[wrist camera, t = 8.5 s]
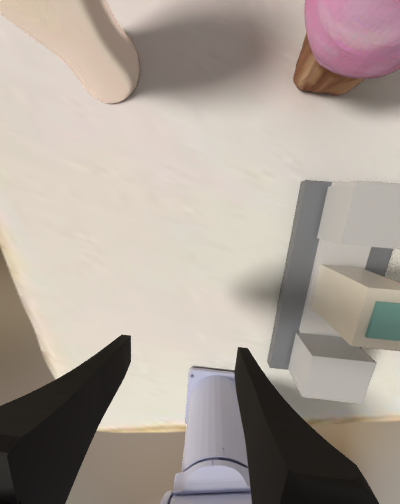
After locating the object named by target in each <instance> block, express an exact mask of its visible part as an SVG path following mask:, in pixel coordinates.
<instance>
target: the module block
mask: <svg viewBox="0 0 400 504" xmlns="http://www.w3.org/2000/svg"><path fill="white" fill-rule="evenodd" d="M311 308H312V309H313V310H314V311H315V312H316V313H317V314H318V315H319V316H320V317H321V318H322V319H323V320H325V321H326V322H327V323H328V324H329V325H330V326H331V327H332V328H333V329H334V330H335V331H336V332H337V333H338V334H339V335H340V336H341V337H342V338H343V339H344V340H345V341H346V342H347V343H348V344H349V345H350V346H354V347H364V348H374V349H384V350H394V351H400V283H399V282H396V281H394V280H391V279H388V278H386V277H383V276H380V275H378V274H375V273H373V272H370V271H367V270H365V269H362V268H357V267H345V266H333V265H322V264H321V267H320V271H319V275H318V280H317V284H316V289H315V293H314V297H313V302H312V306H311Z"/></svg>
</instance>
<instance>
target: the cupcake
mask: <svg viewBox="0 0 400 504" xmlns="http://www.w3.org/2000/svg"><path fill="white" fill-rule="evenodd" d="M305 25H306V36H305V39H304V43H303V47H302V50H301V53H300V56H299V58H298V61H297V64H296V70H295V74H294V83H295V85H296V86H297V88H298V89H299V90H305V91H312V92H316V93H318V92H324V93H329V94H333V95H340V94H344V93H346V92H348V91H349V90H351V89H352V88H354V87H355V86H356V85H358V84H359V83H360V82H362V81H363V80H365V79H368V78H378V77H381V76H385V75H387V74H390V73H392V72H394V71H396V70H398V69H400V0H305Z"/></svg>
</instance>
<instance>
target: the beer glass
mask: <svg viewBox="0 0 400 504" xmlns="http://www.w3.org/2000/svg"><path fill="white" fill-rule="evenodd" d="M0 14H1V15H2V16H3V17H5V18H6V19H7V20H9V21H10V22H11V23H13V24H14V25H15V26H17V27H18V28H20V29H21V30H22V31H24V32H25V33H26V34H28V35H29V36H30V37H32V38H33V39H35V40H36V41H37V42H39V43H40V44H42V45H43V46H44V47H46V48H47V49H48V50H50V51H51V52H52V53H54V54H55V55H56V56H58V57H59V58H60V59H61V60H62V61H63V62H65V63H66V64H67V66H68V67H69V68H70V69H71V70H72V71H73V73H74V74H75V76H76V77H77V78H78V80H79V81H80V83H81V84H82V86H83V87H84V88H85V89H86V91H87V92H88V93H89V94H90V95H91V96H93V97H94V98H95V99H97V100H99V101H101V102H104V103H109V104H113V103H118V102H121V101H123V100H125V99H126V98H127V97H129V96H130V94H131V93H132V92H133V90H134V89H135V87H136V85H137V82H138V78H139V60H138V55H137V52H136V50H135V47H134V45H133V44H132V42H131V40H130V39H129V37H128V36H127V34H126V33H125V32H124V30H123V29H122V28H121V26H120V25H119V23H118V22H117V20H116V19H115V17H114V15H113V13H112V11H111V9H110V6H109V4H108V2H107V0H0Z"/></svg>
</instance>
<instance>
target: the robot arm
mask: <svg viewBox="0 0 400 504" xmlns="http://www.w3.org/2000/svg"><path fill="white" fill-rule="evenodd" d="M130 362H131V336H129V335H121V336H119V337H118V338H117V339H115V340H114V341H113V342H112V343H110V344H109V345H108V346H106V347H105V348H104V349H102V350H101V351H100V352H98V353H97V354H96V355H94V356H93V357H91V358H90V359H88V360H87V361H85V362H84V363H82V364H81V365H80V366H78V367H76V368H75V369H73V370H72V371H70V372H68V373H67V374H65V375H63V376H62V377H60V378H58V379H56V380H54V381H53V382H51V383H49V384H47V385H45V386H43V387H41V388H39V389H37V390H35V391H33V392H31V393H29V394H27V395H25V396H22V397H20V398H18V399H16V400H13V401H11V402H9V403H6V404H4V405H1V406H0V504H65V502H66V500H67V498H68V495H69V493H70V491H71V488H72V486H73V483H74V481H75V478H76V476H77V473H78V471H79V469H80V466H81V464H82V462H83V460H84V457H85V455H86V453H87V450H88V448H89V446H90V443H91V441H92V439H93V437H94V434H95V432H96V430H97V428H98V426H99V424H100V422H101V420H102V418H103V416H104V414H105V412H106V410H107V408H108V407H109V405H110V403H111V401H112V399H113V397H114V396H115V394H116V392H117V390H118V388H119V386H120V385H121V383H122V381H123V379H124V377H125V375H126V372H127V370H128V367H129V365H130ZM191 374H193V375H191ZM185 423H186V424H187V427H186V436H185V445H184V454H183V463H182V472H181V473H176V475H175V481H174V489H173V491H168V492H166V493H165V495H164V497H163V499H162V501H161V503H160V504H379V502H378V501H377V499H376V497H375V495H374V494H373V492H372V490H371V488H370V486H369V485H368V483H367V481H366V480H365V478H364V476H363V475H362V473H361V472H360V470H359V469H358V467H357V465H356V464H354V463H353V462H352V461H350V460H349V459H348V458H347V457H345V456H344V455H343V454H342V453H340V452H339V451H338V450H337V449H336V448H334V447H333V446H332V445H331V444H329V443H328V442H327V441H326V440H325V439H324V438H323V437H322V436H320V435H319V434H318V433H317V432H316V431H315V430H314V429H313V428H312V427H311V426H309V425H308V424H307V423H306V422H305V421H304V420H303V419H302V418H301V417H300V416H299V415H298V414H297V413H296V412H295V411H294V410H293V408H292V407H291V406H290V405H289V404H288V403H287V402H286V401H285V400H284V398H283V397H282V396H281V395H280V394H279V392H278V391H277V390H276V389H275V387H274V386H273V385H272V384H271V382H270V381H269V380H268V378H267V377H266V375H265V374H264V372H263V371H262V370H261V368H260V367H259V365H258V364H257V362H256V361H255V359H254V357H253V356H252V354H251V353H250V351H249V350H248V348H241V347H238V351H237V358H236V365H235V372H229V371H220V370H211V369H202V368H194V367H193V368H190V369H189V378H188V391H187V404H186V417H185Z"/></svg>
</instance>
